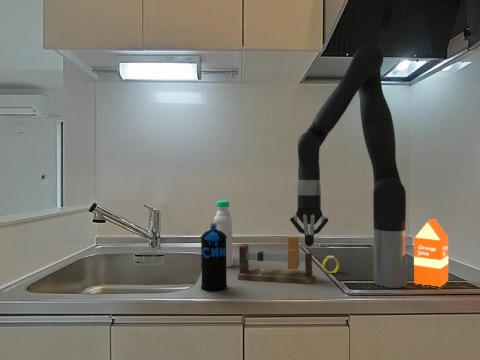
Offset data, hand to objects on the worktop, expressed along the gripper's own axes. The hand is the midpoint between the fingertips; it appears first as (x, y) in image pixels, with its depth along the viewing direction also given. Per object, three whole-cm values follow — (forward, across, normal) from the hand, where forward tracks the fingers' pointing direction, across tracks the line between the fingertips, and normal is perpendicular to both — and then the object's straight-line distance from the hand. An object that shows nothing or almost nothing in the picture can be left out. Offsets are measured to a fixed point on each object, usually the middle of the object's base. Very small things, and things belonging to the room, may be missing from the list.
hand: (309, 246), depth 123 cm
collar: (+7, +5, 0) cm, 9 cm away
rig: (+11, +11, 0) cm, 16 cm away
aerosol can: (+11, +28, +15) cm, 34 cm away
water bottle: (+11, +33, -12) cm, 37 cm away
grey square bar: (+5, +11, 0) cm, 12 cm away
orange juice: (+11, -38, -4) cm, 40 cm away
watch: (+11, -7, -10) cm, 17 cm away
